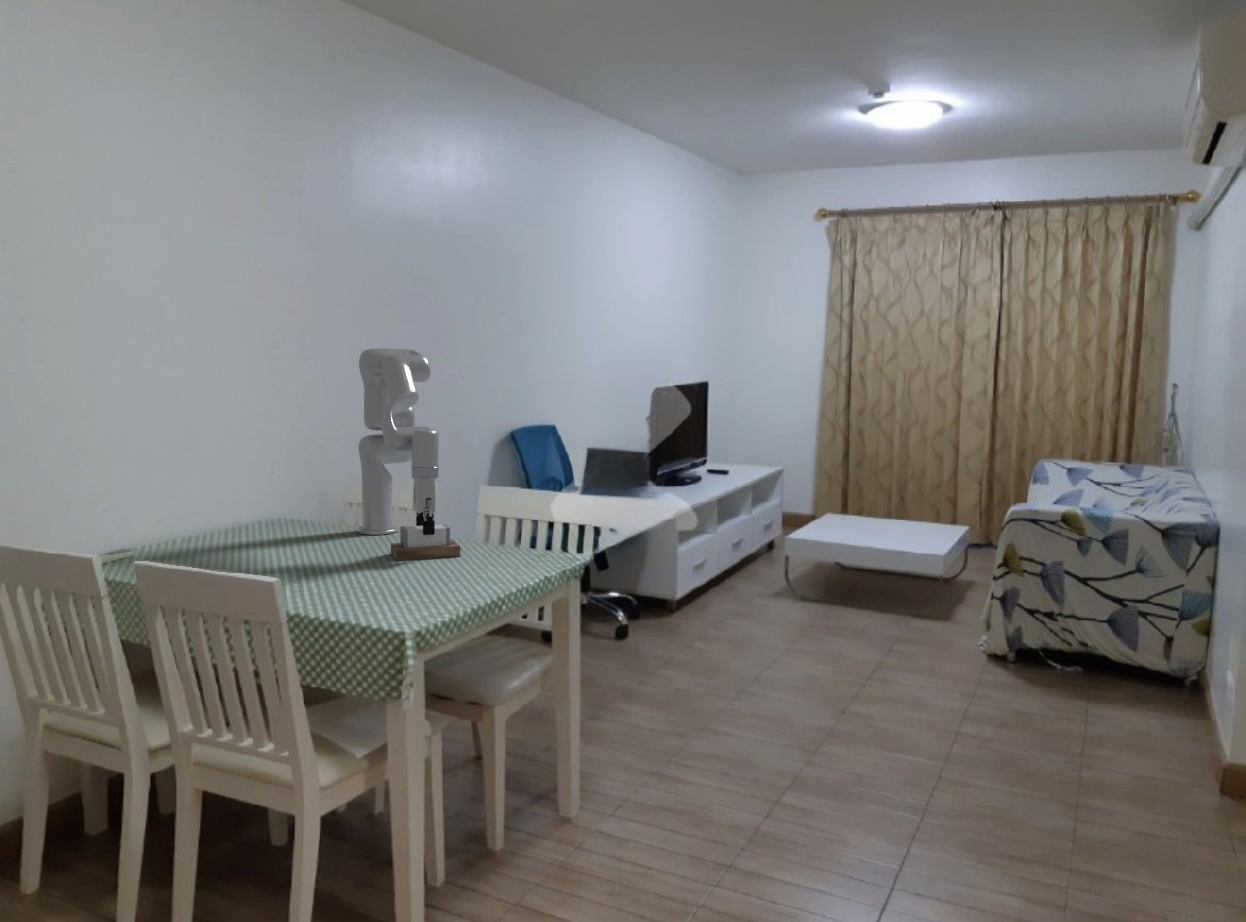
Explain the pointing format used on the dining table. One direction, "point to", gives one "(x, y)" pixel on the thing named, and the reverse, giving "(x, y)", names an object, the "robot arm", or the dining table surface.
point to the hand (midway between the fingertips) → (425, 531)
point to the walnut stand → (424, 551)
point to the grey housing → (424, 536)
